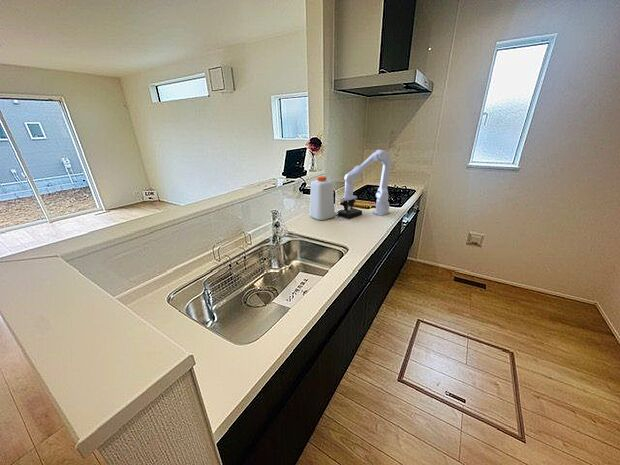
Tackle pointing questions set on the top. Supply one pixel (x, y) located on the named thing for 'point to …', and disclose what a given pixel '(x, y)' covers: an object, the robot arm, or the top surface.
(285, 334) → the top surface
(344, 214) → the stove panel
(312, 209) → the plastic bottle
